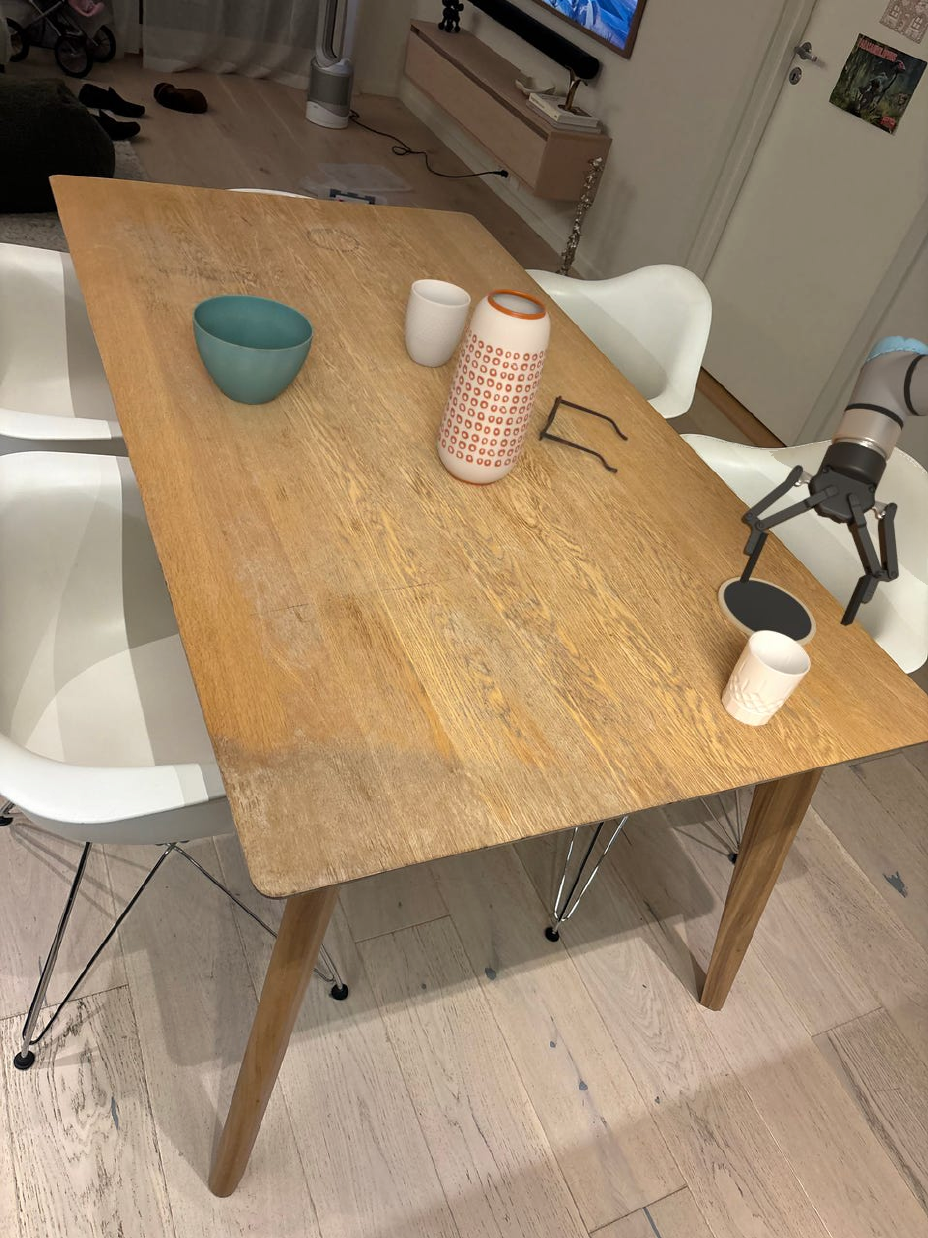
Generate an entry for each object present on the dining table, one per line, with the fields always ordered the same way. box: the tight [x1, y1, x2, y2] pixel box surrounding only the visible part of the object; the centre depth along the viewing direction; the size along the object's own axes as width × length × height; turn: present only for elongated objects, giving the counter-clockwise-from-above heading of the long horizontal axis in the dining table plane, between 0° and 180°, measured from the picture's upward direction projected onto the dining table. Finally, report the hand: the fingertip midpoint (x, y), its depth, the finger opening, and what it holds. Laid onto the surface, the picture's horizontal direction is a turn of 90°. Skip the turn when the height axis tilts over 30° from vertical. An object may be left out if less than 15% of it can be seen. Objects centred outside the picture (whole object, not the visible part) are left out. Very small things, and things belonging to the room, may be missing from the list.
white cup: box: [721, 630, 812, 727], centre depth 115 cm, size 8×8×10 cm
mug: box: [404, 278, 472, 368], centre depth 170 cm, size 15×11×13 cm
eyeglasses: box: [538, 395, 629, 473], centre depth 160 cm, size 15×15×5 cm
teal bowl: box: [192, 294, 315, 405], centre depth 145 cm, size 18×18×12 cm
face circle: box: [717, 576, 817, 647], centre depth 135 cm, size 15×15×1 cm
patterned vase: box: [436, 288, 552, 486], centre depth 138 cm, size 13×13×28 cm
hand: (794, 602), depth 117 cm, fingers open, 13 cm apart
